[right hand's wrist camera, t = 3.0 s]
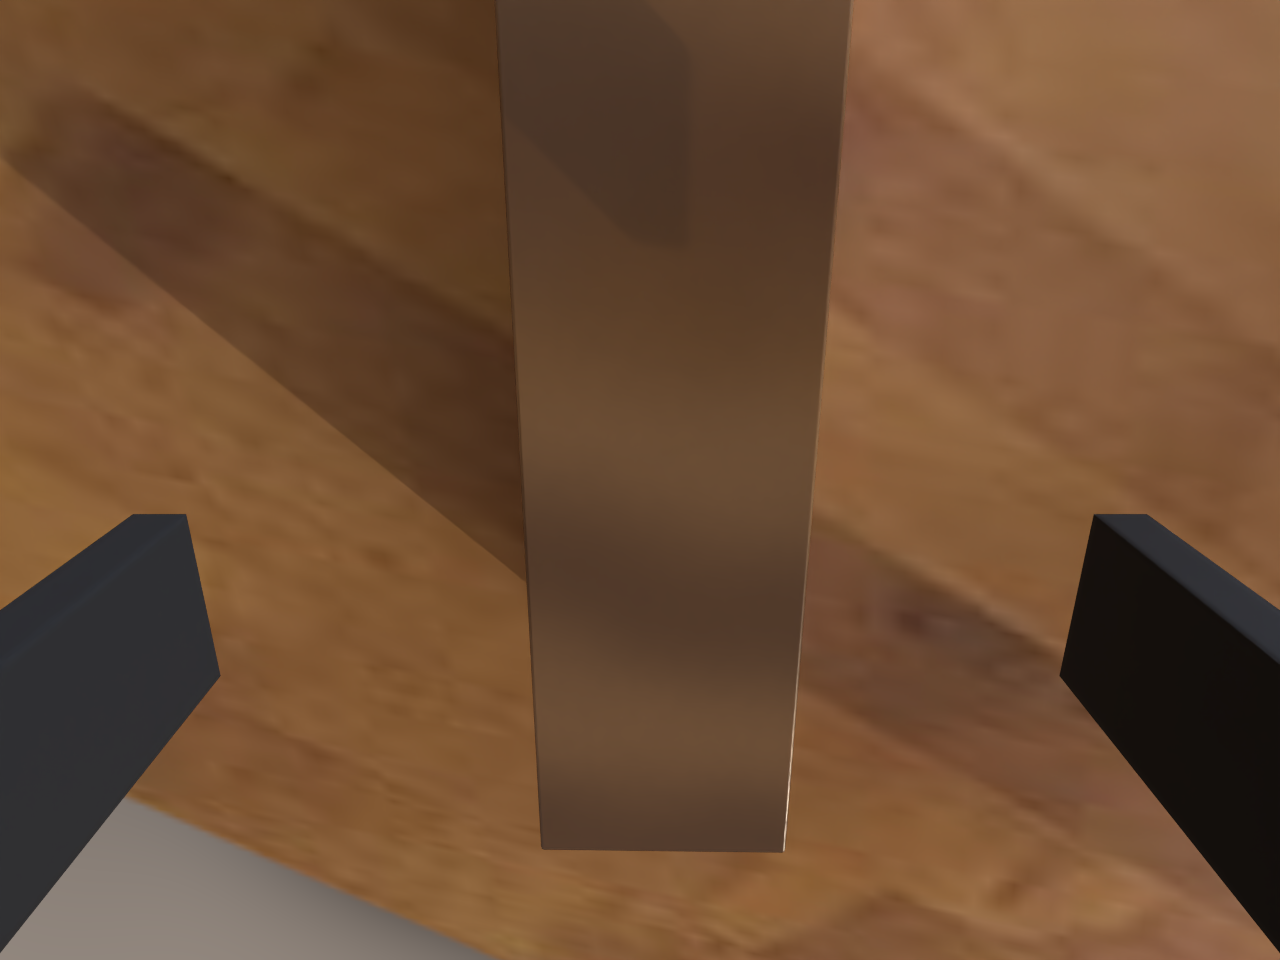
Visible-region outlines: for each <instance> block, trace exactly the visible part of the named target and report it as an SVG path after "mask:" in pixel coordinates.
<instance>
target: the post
mask: <svg viewBox="0 0 1280 960" xmlns="http://www.w3.org/2000/svg"><path fill="white" fill-rule="evenodd" d="M853 6H854V0H495V17H496V35H497V53H498V72H499V90H500V108H501V126H502V144H503V162H504V181H505V199H506V217H507V235H508V253H509V271H510V289H511V308H512V326H513V344H514V362H515V380H516V398H517V417H518V435H519V453H520V471H521V489H522V507H523V525H524V544H525V562H526V580H527V598H528V616H529V634H530V652H531V671H532V689H533V707H534V725H535V743H536V761H537V780H538V798H539V816H540V834H541V847H542V849H544V850H623V851H702V852H781V853H782V852H784V851H785V845H786V832H787V820H788V808H789V795H790V783H791V771H792V758H793V746H794V734H795V721H796V709H797V697H798V684H799V672H800V660H801V647H802V635H803V623H804V610H805V598H806V586H807V573H808V561H809V549H810V536H811V524H812V512H813V499H814V487H815V475H816V462H817V450H818V438H819V425H820V413H821V401H822V388H823V376H824V364H825V351H826V339H827V327H828V314H829V302H830V290H831V277H832V265H833V253H834V240H835V228H836V216H837V203H838V191H839V179H840V166H841V154H842V142H843V129H844V117H845V105H846V92H847V80H848V68H849V55H850V43H851V30H852V18H853Z"/></svg>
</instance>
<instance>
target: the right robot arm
mask: <svg viewBox="0 0 1280 960" xmlns="http://www.w3.org/2000/svg"><path fill="white" fill-rule="evenodd" d="M219 677H220V671H219V667H218V662H217V657H216V653H215V648H214V643H213V638H212V634H211V629H210V624H209V620H208V615H207V610H206V606H205V601H204V596H203V591H202V587H201V582H200V577H199V573H198V568H197V563H196V558H195V554H194V549H193V544H192V540H191V535H190V530H189V526H188V521H187V516H186V514H133V515H131V516H130V517H129V518H127V519H126V520H125V521H123V522H122V523H120V524H119V525H118V526H116V527H115V528H113V529H112V530H111V531H109V532H108V533H107V534H105V535H104V536H102V537H101V538H100V539H98V540H97V541H95V542H94V543H93V544H91V545H90V546H89V547H87V548H86V549H84V550H83V551H82V552H80V553H79V554H77V555H76V556H75V557H73V558H72V559H71V560H69V561H68V562H66V563H65V564H64V565H62V566H61V567H59V568H58V569H57V570H55V571H54V572H53V573H51V574H50V575H48V576H47V577H46V578H44V579H43V580H41V581H40V582H39V583H37V584H36V585H35V586H33V587H32V588H30V589H29V590H28V591H26V592H25V593H24V594H22V595H21V596H19V597H18V598H17V599H15V600H14V601H12V602H11V603H10V604H8V605H7V606H6V607H4V608H3V609H1V610H0V952H1V951H2V950H3V949H4V947H5V946H6V945H7V944H8V942H9V941H10V940H11V939H12V937H13V936H14V935H15V934H16V932H17V931H18V930H19V929H20V927H21V926H22V925H23V924H24V922H25V921H26V920H27V919H28V917H29V916H30V915H31V914H32V912H33V911H34V910H35V909H36V907H37V906H38V905H39V903H40V902H41V901H42V900H43V898H44V897H45V896H46V895H47V893H48V892H49V891H50V890H51V888H52V887H53V886H54V885H55V883H56V882H57V881H58V880H59V878H60V877H61V876H62V875H63V873H64V872H65V871H66V869H67V868H68V867H69V866H70V864H71V863H72V862H73V861H74V859H75V858H76V857H77V856H78V854H79V853H80V852H81V851H82V849H83V848H84V847H85V846H86V844H87V843H88V842H89V841H90V839H91V838H92V837H93V836H94V834H95V833H96V832H97V830H98V829H99V828H100V827H101V825H102V824H103V823H104V822H105V820H106V819H107V818H108V817H109V815H110V814H111V813H112V812H113V810H114V809H115V808H116V807H117V805H118V804H119V803H120V802H121V800H122V799H123V798H124V797H125V795H126V794H127V793H128V792H129V790H130V789H131V788H132V786H133V785H134V784H135V783H136V781H137V780H138V779H139V778H140V776H141V775H142V774H143V773H144V771H145V770H146V769H147V768H148V766H149V765H150V764H151V763H152V761H153V760H154V759H155V758H156V756H157V755H158V754H159V753H160V751H161V750H162V749H163V747H164V746H165V745H166V744H167V742H168V741H169V740H170V739H171V737H172V736H173V735H174V734H175V732H176V731H177V730H178V729H179V727H180V726H181V725H182V724H183V722H184V721H185V720H186V719H187V717H188V716H189V715H190V714H191V712H192V711H193V710H194V708H195V707H196V706H197V705H198V703H199V702H200V701H201V700H202V698H203V697H204V696H205V695H206V693H207V692H208V691H209V690H210V688H211V687H212V686H213V685H214V683H215V682H216V681H217V680H218V678H219ZM1060 677H1061V678H1062V680H1063V681H1064V682H1065V683H1066V685H1067V686H1068V687H1069V688H1070V690H1071V691H1072V692H1073V693H1074V695H1075V696H1076V697H1077V698H1078V700H1079V701H1080V702H1081V703H1082V705H1083V706H1084V707H1085V708H1086V710H1087V711H1088V712H1089V714H1090V715H1091V716H1092V717H1093V719H1094V720H1095V721H1096V722H1097V724H1098V725H1099V726H1100V727H1101V729H1102V730H1103V731H1104V732H1105V734H1106V735H1107V736H1108V737H1109V739H1110V740H1111V741H1112V742H1113V744H1114V745H1115V746H1116V747H1117V749H1118V750H1119V751H1120V753H1121V754H1122V755H1123V756H1124V758H1125V759H1126V760H1127V761H1128V763H1129V764H1130V765H1131V766H1132V768H1133V769H1134V770H1135V771H1136V773H1137V774H1138V775H1139V776H1140V778H1141V779H1142V780H1143V781H1144V783H1145V784H1146V785H1147V786H1148V788H1149V789H1150V790H1151V792H1152V793H1153V794H1154V795H1155V797H1156V798H1157V799H1158V800H1159V802H1160V803H1161V804H1162V805H1163V807H1164V808H1165V809H1166V810H1167V812H1168V813H1169V814H1170V815H1171V817H1172V818H1173V819H1174V820H1175V822H1176V823H1177V824H1178V825H1179V827H1180V828H1181V829H1182V831H1183V832H1184V833H1185V834H1186V836H1187V837H1188V838H1189V839H1190V841H1191V842H1192V843H1193V844H1194V846H1195V847H1196V848H1197V849H1198V851H1199V852H1200V853H1201V854H1202V856H1203V857H1204V858H1205V859H1206V861H1207V862H1208V863H1209V864H1210V866H1211V867H1212V868H1213V870H1214V871H1215V872H1216V873H1217V875H1218V876H1219V877H1220V878H1221V880H1222V881H1223V882H1224V883H1225V885H1226V886H1227V887H1228V888H1229V890H1230V891H1231V892H1232V893H1233V895H1234V896H1235V897H1236V898H1237V900H1238V901H1239V902H1240V903H1241V905H1242V906H1243V907H1244V909H1245V910H1246V911H1247V912H1248V914H1249V915H1250V916H1251V917H1252V919H1253V920H1254V921H1255V922H1256V924H1257V925H1258V926H1259V927H1260V929H1261V930H1262V931H1263V932H1264V934H1265V935H1266V936H1267V937H1268V939H1269V940H1270V941H1271V942H1272V944H1273V945H1274V946H1275V948H1276V949H1277V950H1278V951H1279V953H1280V610H1279V609H1277V608H1276V607H1274V606H1273V605H1272V604H1270V603H1269V602H1268V601H1266V600H1265V599H1263V598H1262V597H1261V596H1259V595H1258V594H1256V593H1255V592H1254V591H1252V590H1251V589H1250V588H1248V587H1247V586H1245V585H1244V584H1243V583H1241V582H1240V581H1239V580H1237V579H1236V578H1234V577H1233V576H1232V575H1230V574H1229V573H1227V572H1226V571H1225V570H1223V569H1222V568H1221V567H1219V566H1218V565H1216V564H1215V563H1214V562H1212V561H1211V560H1209V559H1208V558H1207V557H1205V556H1204V555H1203V554H1201V553H1200V552H1198V551H1197V550H1196V549H1194V548H1193V547H1191V546H1190V545H1189V544H1187V543H1186V542H1185V541H1183V540H1182V539H1180V538H1179V537H1178V536H1176V535H1175V534H1173V533H1172V532H1171V531H1169V530H1168V529H1167V528H1165V527H1164V526H1162V525H1161V524H1160V523H1158V522H1157V521H1155V520H1154V519H1153V518H1151V517H1150V516H1149V515H1147V514H1094V516H1093V521H1092V526H1091V530H1090V535H1089V540H1088V544H1087V549H1086V554H1085V558H1084V563H1083V568H1082V573H1081V577H1080V582H1079V587H1078V591H1077V596H1076V601H1075V606H1074V610H1073V615H1072V620H1071V624H1070V629H1069V634H1068V638H1067V643H1066V648H1065V653H1064V657H1063V662H1062V667H1061V671H1060Z"/></svg>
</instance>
